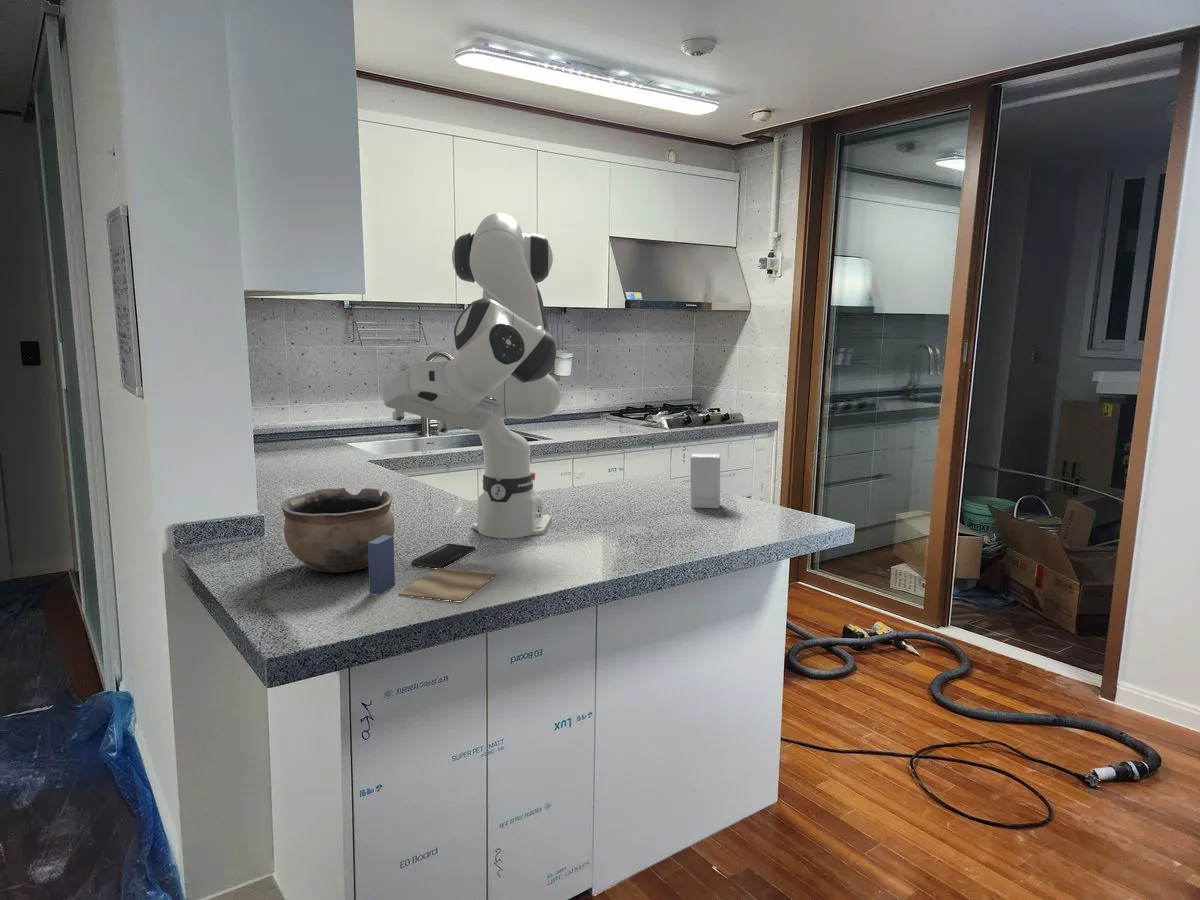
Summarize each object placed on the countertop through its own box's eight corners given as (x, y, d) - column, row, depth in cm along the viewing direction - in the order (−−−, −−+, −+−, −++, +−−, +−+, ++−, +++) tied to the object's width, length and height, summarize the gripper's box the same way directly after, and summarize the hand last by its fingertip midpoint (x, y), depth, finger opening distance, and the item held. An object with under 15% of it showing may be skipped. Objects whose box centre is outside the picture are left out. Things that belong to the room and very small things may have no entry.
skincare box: (719, 504, 219) (721, 453, 217) (719, 509, 213) (721, 457, 211) (690, 503, 221) (692, 452, 218) (689, 508, 215) (690, 455, 212)
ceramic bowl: (414, 557, 168) (412, 490, 166) (363, 590, 147) (359, 514, 145) (324, 549, 173) (321, 484, 171) (261, 580, 152) (256, 506, 150)
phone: (409, 562, 162) (447, 543, 176) (409, 567, 163) (447, 547, 176) (441, 566, 160) (477, 546, 173) (441, 571, 160) (477, 551, 174)
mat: (438, 569, 160) (437, 567, 160) (495, 575, 156) (495, 573, 156) (398, 595, 145) (398, 593, 144) (461, 602, 141) (461, 600, 141)
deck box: (385, 584, 151) (383, 535, 149) (395, 585, 150) (393, 536, 148) (369, 593, 145) (367, 542, 144) (380, 595, 145) (378, 543, 143)
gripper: (504, 389, 144) (465, 422, 153) (406, 356, 132) (369, 395, 140) (507, 417, 142) (466, 450, 150) (406, 387, 129) (368, 424, 137)
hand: (418, 423), depth 145 cm, fingers open, 8 cm apart
